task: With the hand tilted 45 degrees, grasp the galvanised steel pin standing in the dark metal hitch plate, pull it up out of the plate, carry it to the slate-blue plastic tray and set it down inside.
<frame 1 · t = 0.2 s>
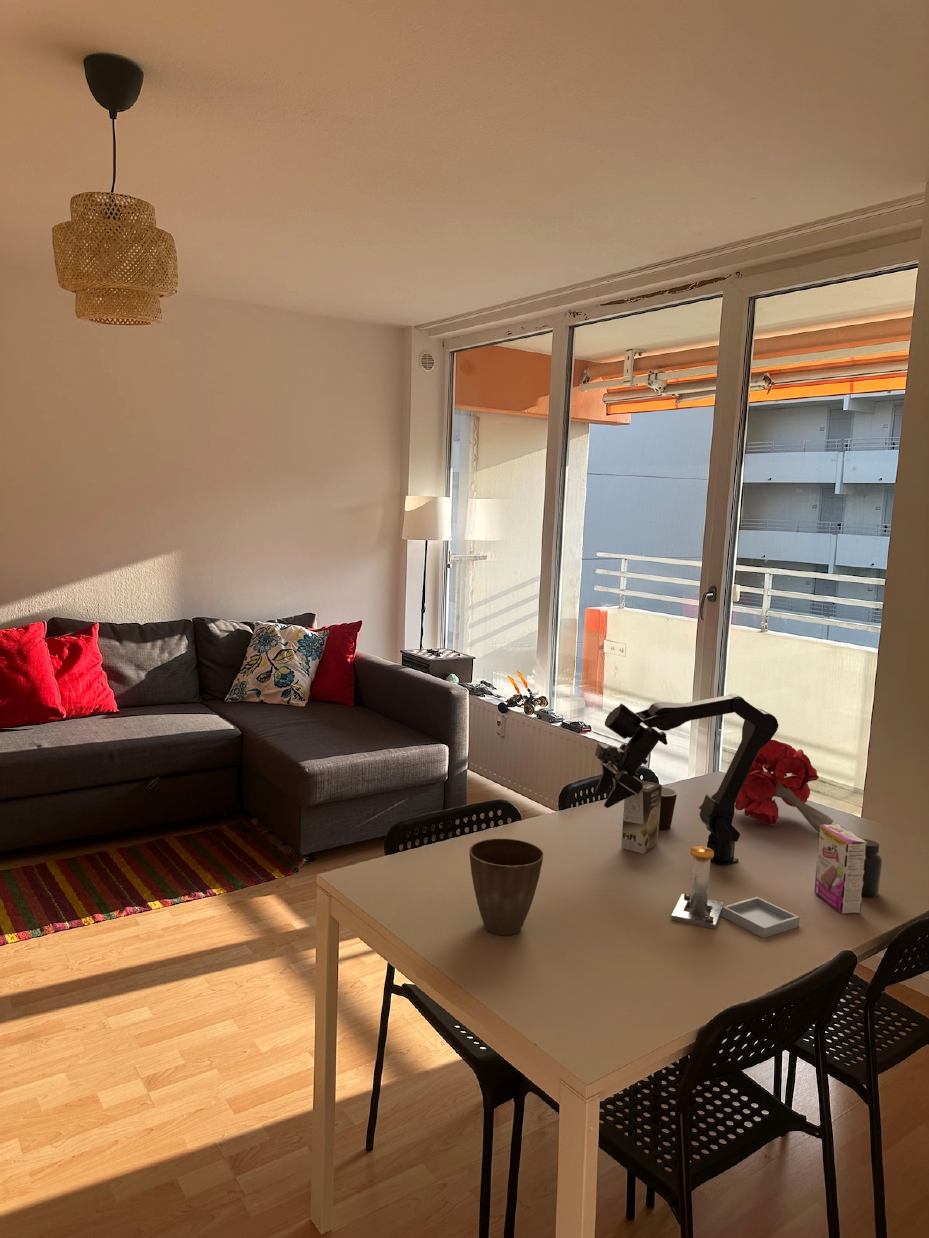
hand: (600, 800, 217), 15 cm above the table, tool tilted 35°, fingers open, 9 cm apart
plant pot: (502, 927, 180), on the table
steel pin: (697, 913, 190), resting in hitch plate
candy bar box: (836, 904, 198), on the table
coffee box: (639, 846, 228), on the table
hitch plate: (697, 912, 190), on the table
tray: (759, 921, 188), on the table
supplement bottle: (862, 892, 205), on the table
coffee mug: (657, 825, 245), on the table
bouquet: (776, 823, 250), on the table
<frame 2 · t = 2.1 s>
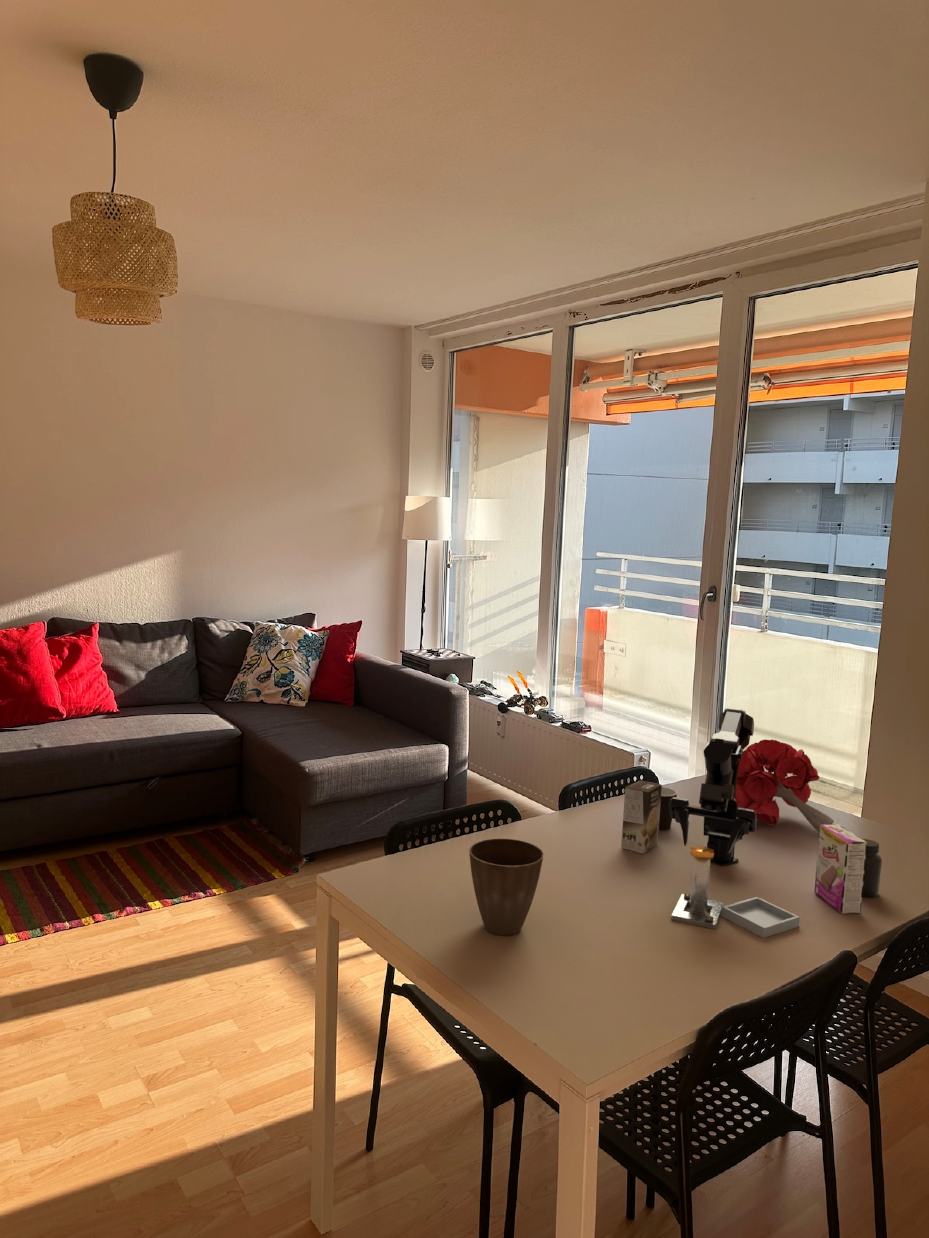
hand: (706, 848, 194), 12 cm above the table, tool tilted 45°, fingers open, 9 cm apart
nothing on the table moved.
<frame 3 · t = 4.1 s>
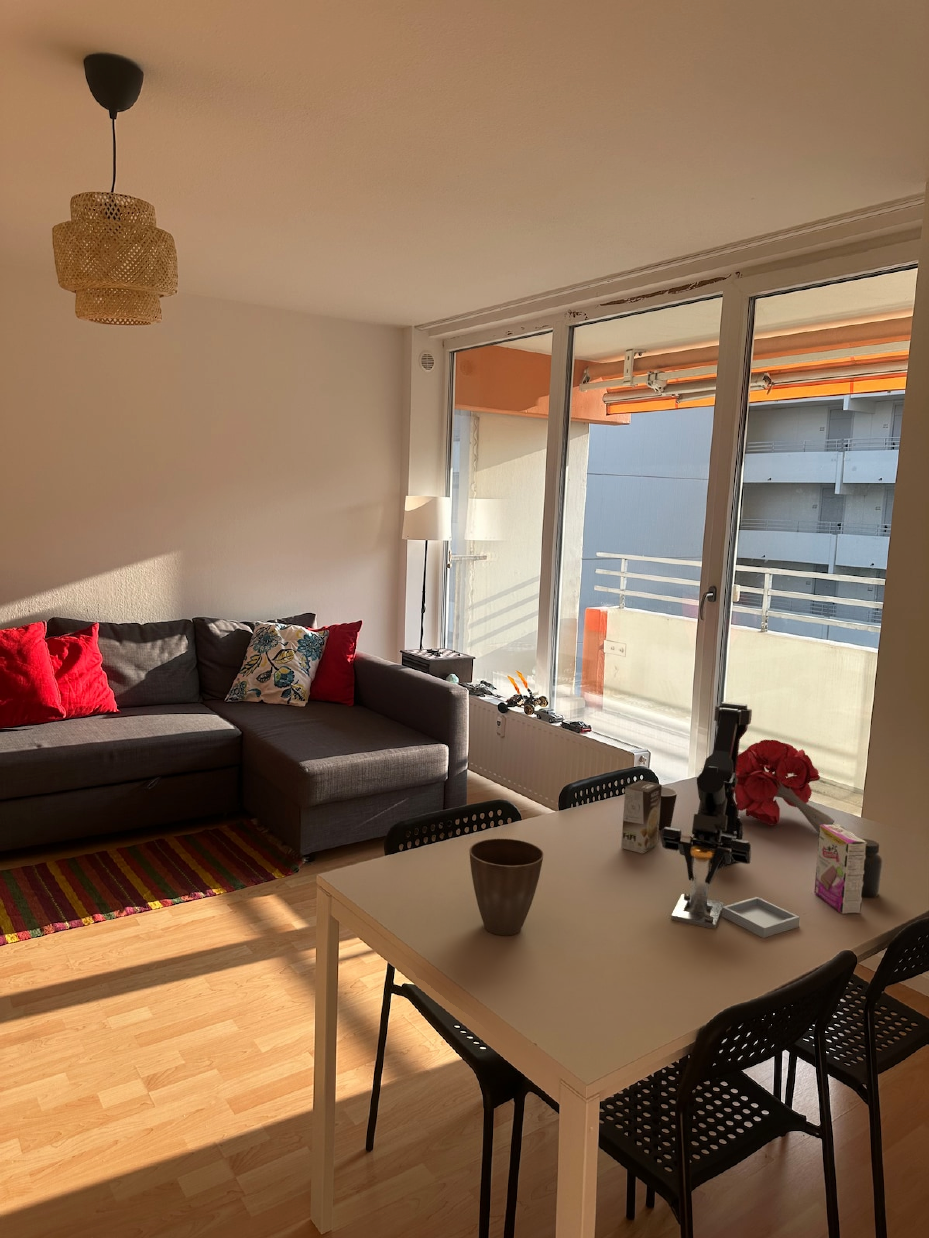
hand: (699, 881, 188), 8 cm above the table, tool tilted 45°, fingers closed on steel pin, 4 cm apart
steel pin: (697, 913, 190), resting in hitch plate, touching gripper
everything else where it was.
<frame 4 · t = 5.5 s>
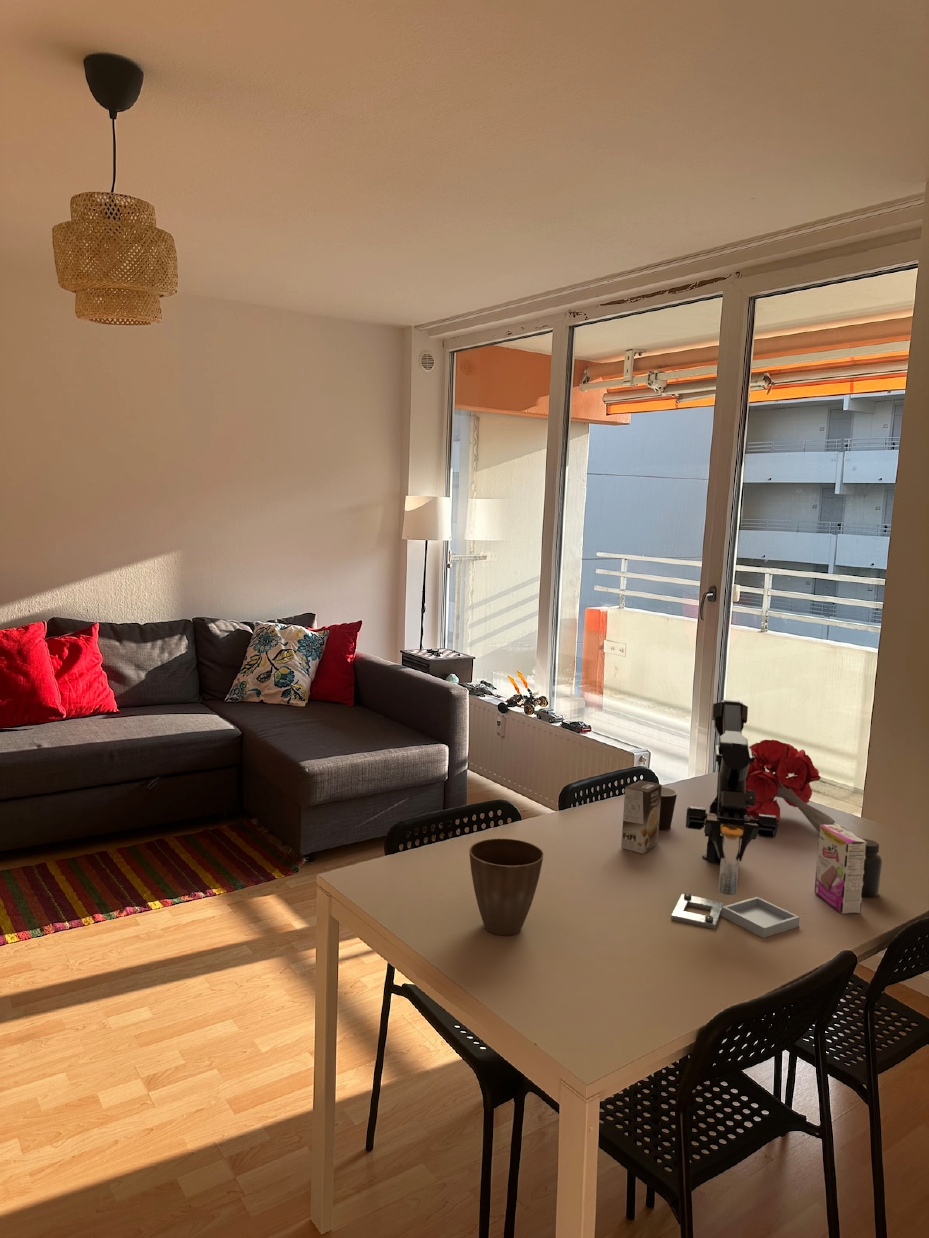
hand: (730, 859, 186), 13 cm above the table, tool tilted 45°, fingers closed on steel pin, 4 cm apart
steel pin: (727, 891, 188), point 6 cm above the table, touching gripper
everything else where it was.
when the fingers open (10 cm above the table, at t = 7.0 s): steel pin drops 1 cm, resting on tray.
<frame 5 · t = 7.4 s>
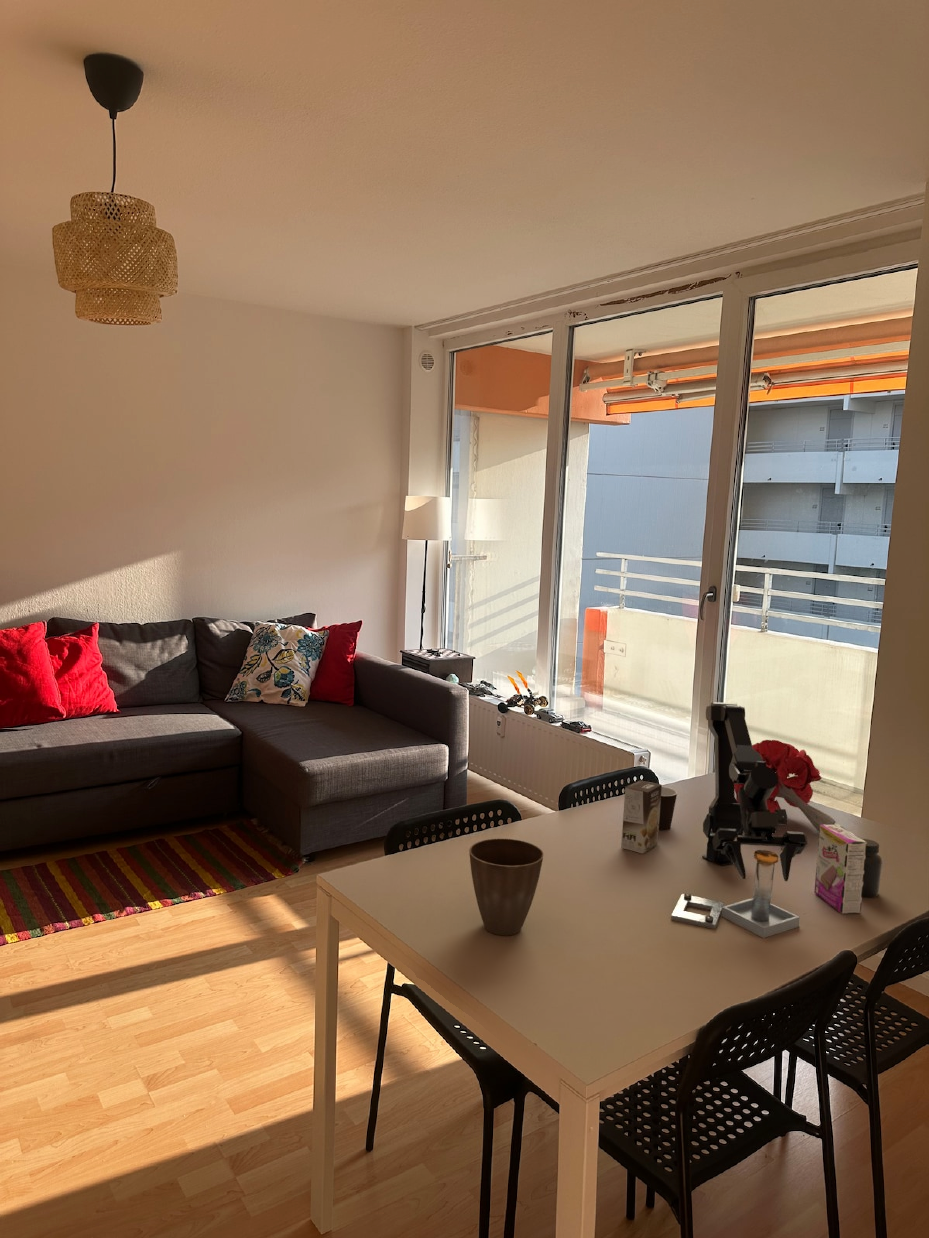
hand: (765, 879, 185), 10 cm above the table, tool tilted 45°, fingers open, 8 cm apart
steel pin: (759, 918, 188), point 1 cm above the table, touching tray
everything else where it was.
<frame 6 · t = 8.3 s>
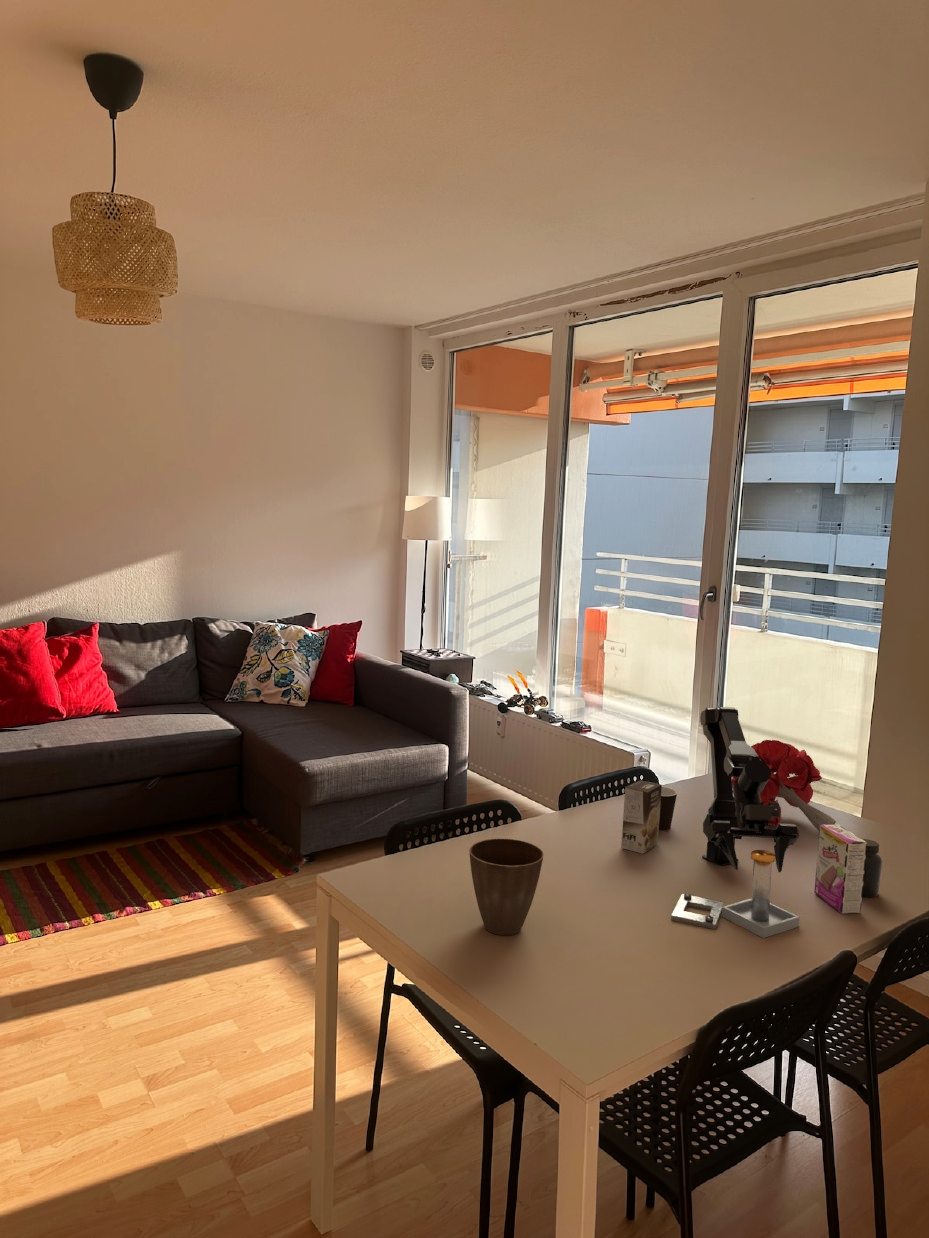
hand: (758, 870, 190), 10 cm above the table, tool tilted 45°, fingers open, 9 cm apart
nothing on the table moved.
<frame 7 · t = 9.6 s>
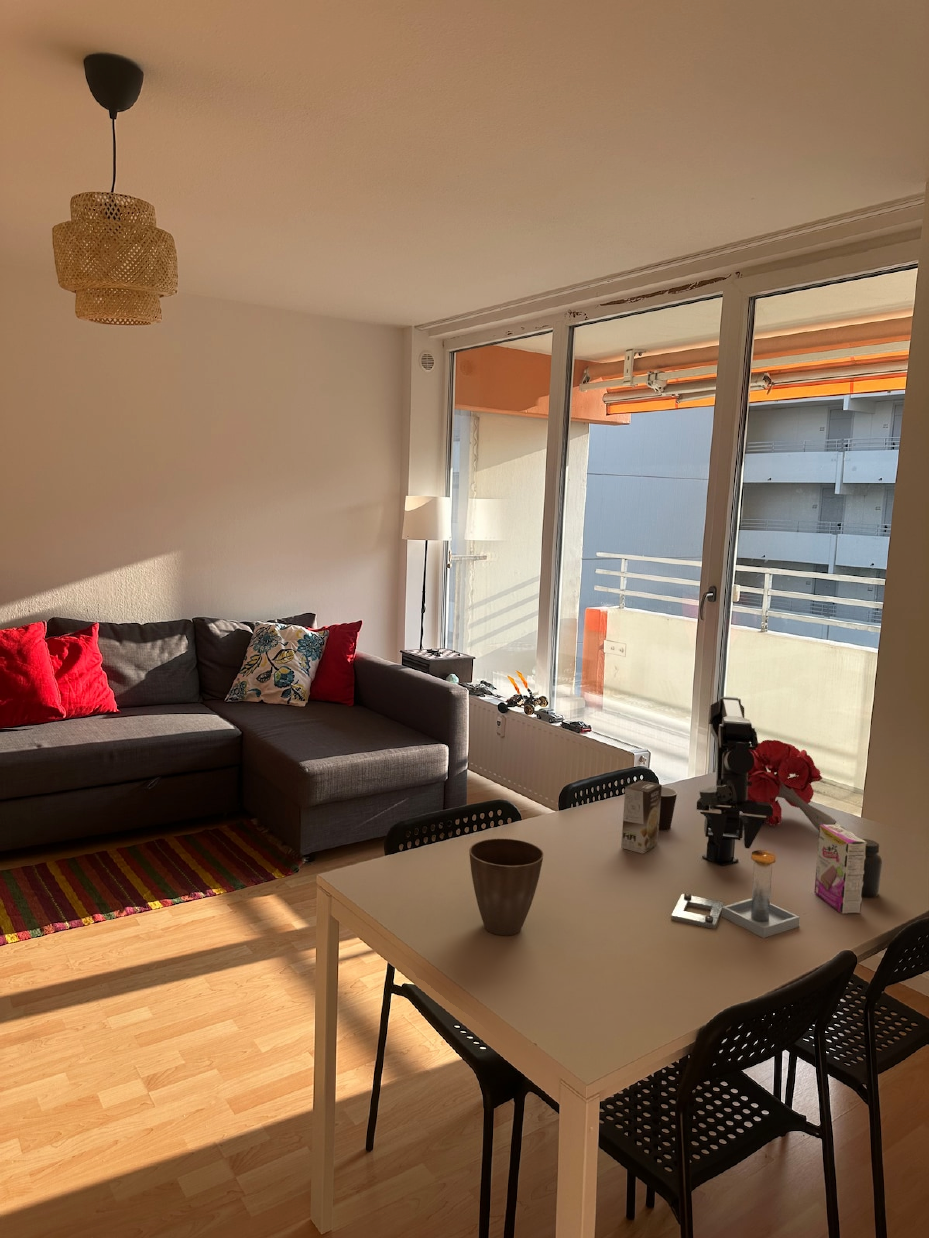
hand: (732, 846, 199), 11 cm above the table, tool tilted 20°, fingers open, 9 cm apart
nothing on the table moved.
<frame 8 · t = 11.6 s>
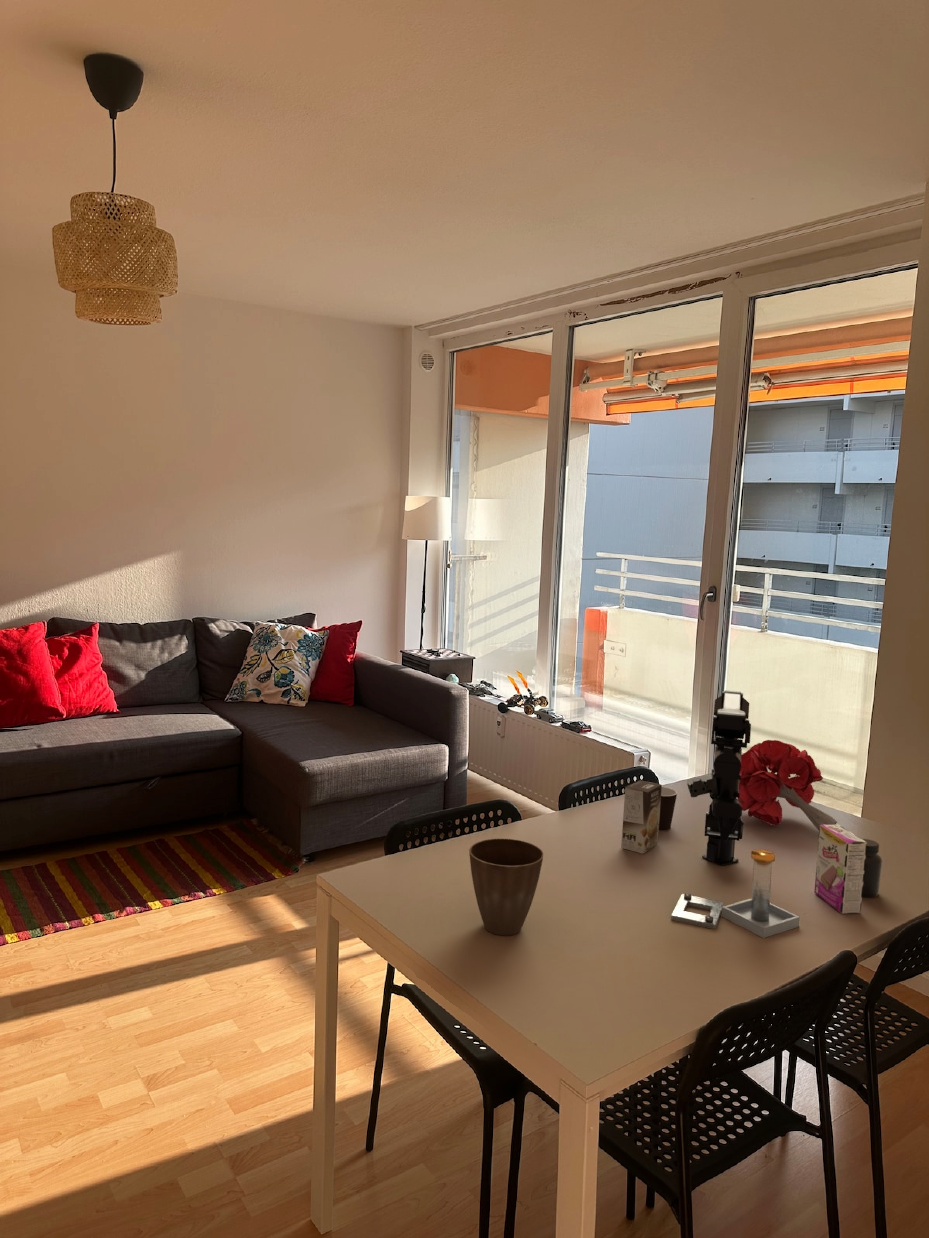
hand: (722, 833, 202), 13 cm above the table, tool pointing down, fingers open, 9 cm apart
at the end: steel pin inside the target area on the tray (0.1 cm from its centre), point 0.7 cm above the tray's base; the gripper is holding nothing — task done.
